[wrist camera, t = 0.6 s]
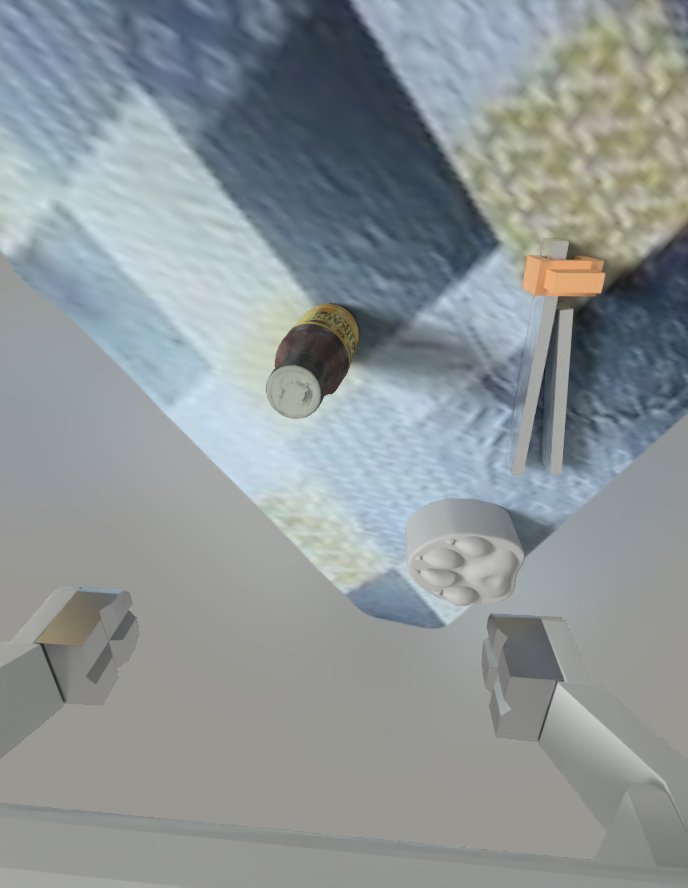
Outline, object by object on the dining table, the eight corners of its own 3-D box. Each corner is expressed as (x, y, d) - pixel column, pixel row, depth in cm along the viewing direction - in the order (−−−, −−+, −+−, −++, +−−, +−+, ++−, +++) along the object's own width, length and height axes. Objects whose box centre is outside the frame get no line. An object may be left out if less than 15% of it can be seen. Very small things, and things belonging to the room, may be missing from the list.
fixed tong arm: (543, 238, 45) (555, 241, 42) (556, 238, 45) (569, 241, 42) (504, 459, 56) (512, 474, 53) (515, 459, 56) (523, 475, 53)
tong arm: (548, 303, 48) (560, 310, 45) (561, 301, 48) (573, 308, 44) (540, 459, 56) (550, 474, 53) (551, 458, 55) (561, 473, 52)
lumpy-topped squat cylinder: (496, 568, 64) (511, 618, 56) (399, 556, 64) (401, 605, 56) (515, 504, 59) (535, 549, 51) (411, 492, 59) (415, 535, 52)
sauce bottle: (371, 332, 51) (364, 403, 33) (329, 369, 53) (300, 454, 35) (329, 285, 49) (297, 333, 31) (287, 325, 51) (235, 392, 33)
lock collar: (527, 255, 46) (549, 263, 40) (585, 255, 45) (616, 264, 39) (522, 287, 47) (542, 301, 41) (578, 288, 47) (607, 301, 41)
